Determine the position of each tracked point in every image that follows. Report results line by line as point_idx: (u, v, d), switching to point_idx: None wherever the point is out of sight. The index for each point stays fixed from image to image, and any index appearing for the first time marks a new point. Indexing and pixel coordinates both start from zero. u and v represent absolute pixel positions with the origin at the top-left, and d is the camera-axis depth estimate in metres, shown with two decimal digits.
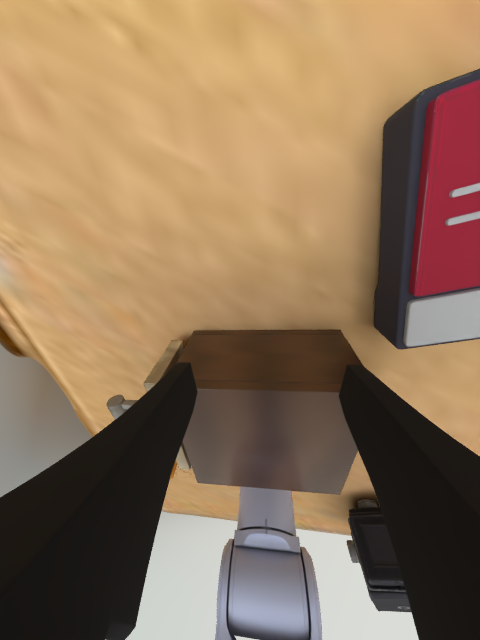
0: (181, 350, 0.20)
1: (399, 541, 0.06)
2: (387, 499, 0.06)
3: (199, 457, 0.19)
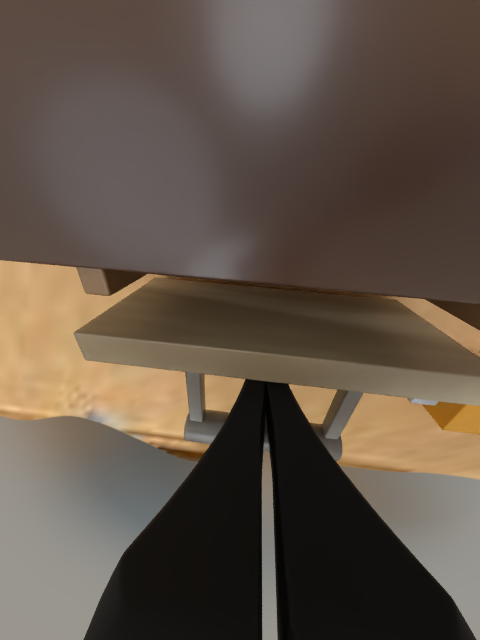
0: (160, 283, 0.11)
1: (274, 528, 0.06)
2: (273, 489, 0.07)
3: (432, 234, 0.03)
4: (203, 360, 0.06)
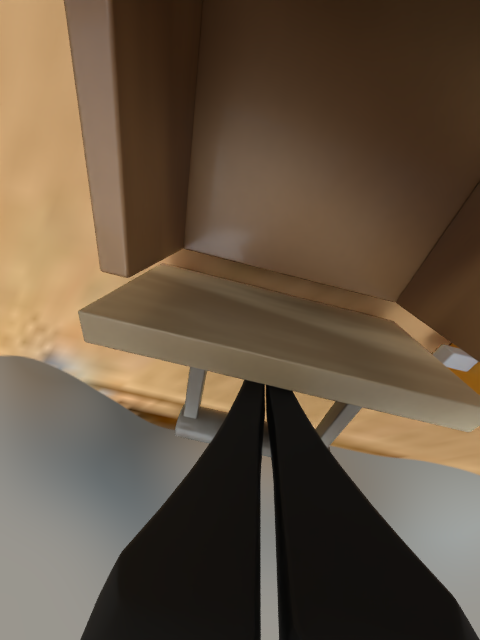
0: (167, 269, 0.10)
1: (275, 528, 0.06)
2: (274, 490, 0.07)
3: None
4: (215, 358, 0.06)
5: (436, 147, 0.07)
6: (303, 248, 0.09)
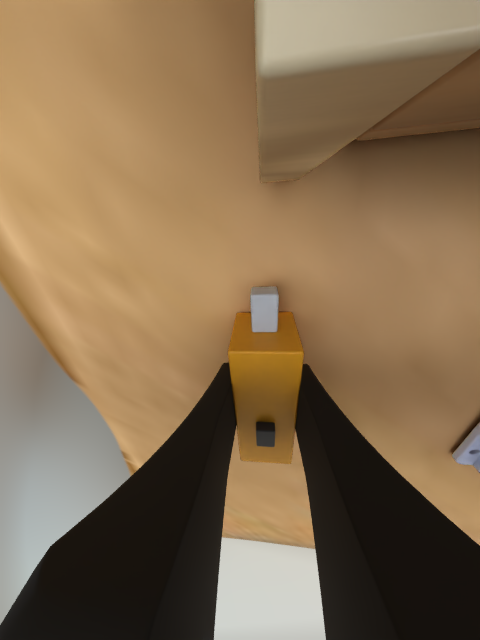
0: None
1: (316, 532, 0.06)
2: (311, 493, 0.06)
3: None
4: None
5: None
6: None
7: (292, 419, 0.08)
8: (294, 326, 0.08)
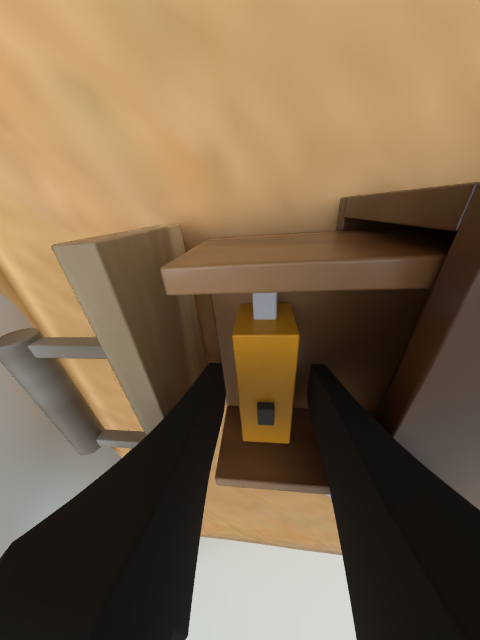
0: (177, 240, 0.09)
1: (343, 535, 0.06)
2: (336, 495, 0.06)
3: None
4: (131, 375, 0.07)
5: None
6: None
7: (290, 399, 0.09)
8: (291, 314, 0.09)
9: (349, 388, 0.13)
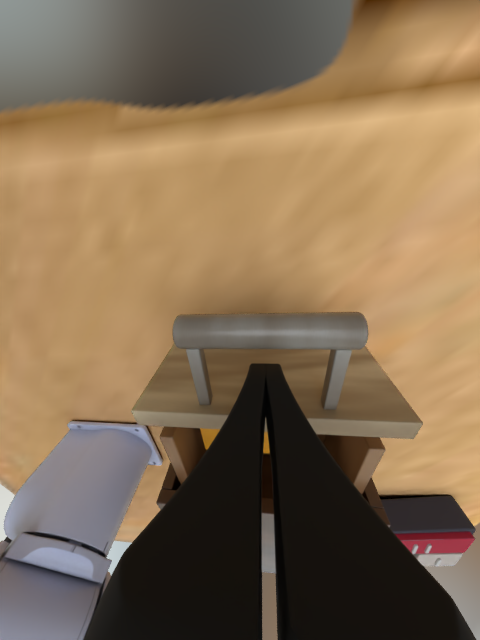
0: None
1: (274, 528, 0.06)
2: (273, 489, 0.07)
3: None
4: (317, 427, 0.09)
5: None
6: None
7: None
8: None
9: None
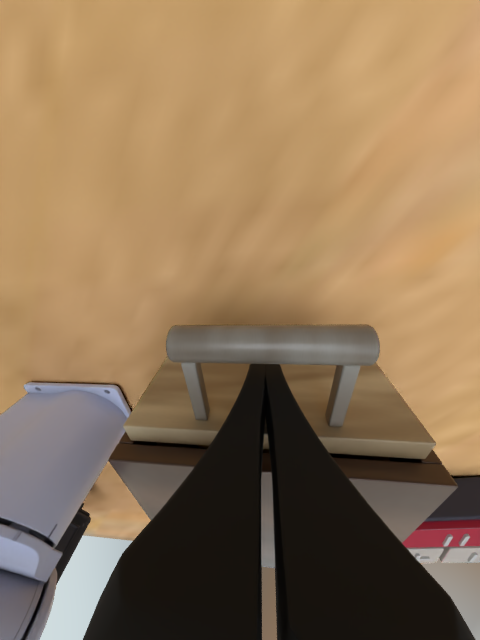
0: None
1: (274, 528, 0.06)
2: (272, 489, 0.07)
3: None
4: None
5: None
6: None
7: None
8: None
9: None
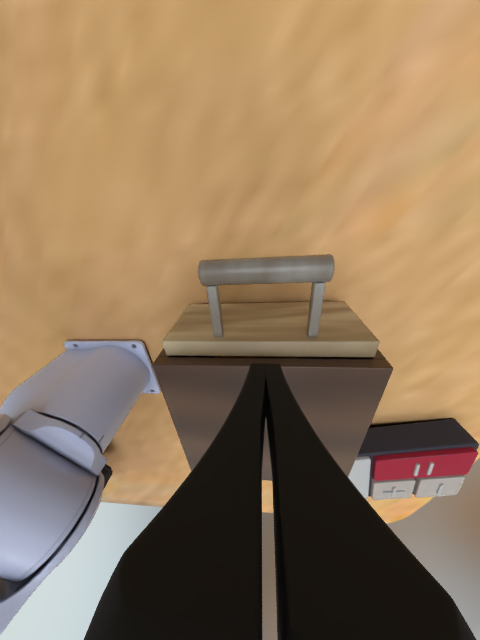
0: None
1: (274, 528, 0.06)
2: (273, 489, 0.07)
3: (235, 379, 0.13)
4: (303, 350, 0.12)
5: None
6: None
7: None
8: None
9: None
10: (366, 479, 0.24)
